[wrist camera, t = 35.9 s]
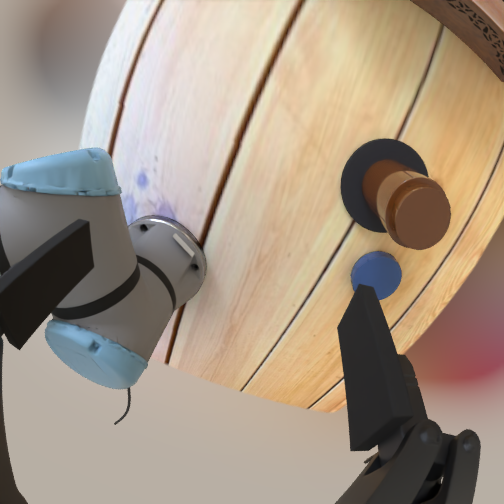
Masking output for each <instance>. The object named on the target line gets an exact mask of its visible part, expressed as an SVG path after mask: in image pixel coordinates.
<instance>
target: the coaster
mask: <svg viewBox="0 0 504 504" xmlns="http://www.w3.org/2000/svg"><path fill="white" fill-rule="evenodd" d="M385 159H392V160H396V161H398V162H400V163H402V164H404V165H406V166H408V167H410V168H412V169H414V170H416V171H417V172H419V173H421V174H423V175H425V176H426V177H428V173H427V169H426V167H425V164H424V162H423V160H422V159H421V157H420V156H419V155H418V154H417V152H416V151H415V150H413V149H412V148H411V147H410V146H408V145H407V144H405V143H402V142H400V141H397V140H393V139H377V140H373V141H370V142H368V143H366V144H364V145H362V146H361V147H360V148H358V149H357V150H356V151H355V152H354V153H353V154H352V155H351V157H350V158H349V160H348V161H347V163H346V165H345V167H344V170H343V173H342V178H341V194H342V199H343V202H344V205H345V207H346V209H347V211H348V213H349V214H350V216H351V217H352V218H353V219H354V220H355V221H356V222H357V223H358V224H359V225H361V226H362V227H364V228H366V229H368V230H371V231H374V232H382V233H386V232H387V231H386V229H385V228H384V226H383V225H382V224H381V222H380V221H379V220H378V218H377V217H376V215H375V214H374V213H373V211H372V210H371V209H370V207H369V206H368V205H367V203H366V202H365V200H364V198H363V194H362V181H363V178H364V175H365V173H366V172H367V170H368V169H369V168H370V167H371V166H372V165H373V164H374V163H376V162H378V161H381V160H385Z"/></svg>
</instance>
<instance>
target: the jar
mask: <svg viewBox="0 0 504 504" xmlns="http://www.w3.org/2000/svg"><path fill="white" fill-rule="evenodd" d="M362 194H363V198H364V200H365V202H366V203H367V205H368V206H369V207H370V209H371V210H372V211H373V213H374V214H375V215H376V217H377V218H378V220H379V221H380V222H381V224H382V225H383V226H384V228H385V229H386V231H387V232H388V233H389V235H390V236H391V238H392V239H393V240H394V241H395V242H396V243H398V244H399V245H401V246H404V247H407V248H412V249H416V250H423V249H427V248H430V247H432V246H434V245H435V244H436V243H438V242H439V241H440V240H441V239H442V237H443V236H444V235H445V233H446V231H447V229H448V227H449V223H450V217H451V211H450V208H451V207H450V204H449V202H448V199H447V197H446V195H445V192H444V191H443V189H442V188H441V187H440V185H439V184H437V183H436V182H435V181H433V180H432V179H430V178H428V177H426V176H425V175H423V174H421V173H419V172H417V171H416V170H414V169H412V168H410V167H408V166H406V165H404V164H402V163H400V162H398V161H396V160H392V159H385V160H381V161H378V162H376V163H374V164H373V165H372V166H371V167H370V168H369V169H368V170H367V172H366V173H365V175H364V178H363V181H362Z"/></svg>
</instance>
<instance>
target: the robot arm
mask: <svg viewBox="0 0 504 504" xmlns="http://www.w3.org/2000/svg"><path fill="white" fill-rule="evenodd" d="M0 181H1V184H3V185H1V186H0V504H28V503H27V502H26V500H25V498H24V497H23V496H22V495H21V493H20V492H19V491H18V489H17V487H16V484H15V480H14V476H13V472H12V467H11V463H10V458H9V453H8V447H7V441H6V433H5V426H4V415H3V400H2V355H3V340H2V338H1V336H2V335H3V334H5V336H6V337H7V339H8V341H9V343H10V344H12V345H13V346H14V347H16V348H17V349H19V350H20V349H21V348H22V346H23V345H24V344H25V343H26V342H27V340H28V339H29V338H30V337H31V335H32V334H33V333H34V332H35V331H36V329H37V328H38V327H39V326H40V325H41V323H42V322H43V321H44V320H45V319H46V318H47V317H48V315H49V314H50V313H52V316H53V319H52V320H51V321H49V322H48V323H47V328H46V329H45V338H46V341H47V343H48V345H49V346H50V348H51V349H52V350H53V352H54V353H55V354H56V355H57V356H58V357H59V358H60V359H61V360H62V361H63V362H64V363H65V364H66V365H68V366H69V367H70V368H71V369H73V370H74V371H76V372H77V373H78V374H80V375H82V376H83V377H85V378H87V379H89V380H91V381H93V382H95V383H97V384H99V385H102V386H105V387H109V388H112V389H128V406H127V410H126V412H125V414H124V415H123V416H122V417H121V418H120V419H119V420H118V421H116V422H115V423H114V424H115V425H116V424H117V423H118V422H120V421H121V420H122V419H123V418H124V417H125V416H126V414H127V413H128V411H129V407H130V401H131V395H130V387H131V386H133V385H134V384H135V383H136V382H137V380H138V379H139V377H140V376H141V374H142V373H143V371H144V369H146V368H147V366H148V361H149V359H150V357H151V355H152V353H153V351H154V349H155V347H156V345H157V343H158V341H159V339H160V337H161V335H162V333H163V331H164V329H165V328H166V326H167V324H168V322H169V320H170V318H171V316H172V314H173V312H174V311H175V310H176V309H178V308H179V307H180V306H182V305H183V304H184V303H186V302H187V301H188V300H190V299H191V298H192V297H193V296H194V295H195V294H196V293H197V292H198V291H199V289H200V287H201V285H202V283H203V281H204V278H205V275H206V259H205V255H204V252H203V250H202V248H201V246H200V244H199V242H198V241H197V239H196V238H195V237H194V236H193V234H192V233H191V232H190V231H189V230H188V229H186V228H185V227H184V226H182V225H181V224H180V223H178V222H176V221H174V220H172V219H169V218H166V217H162V216H145V217H142V218H140V219H138V220H136V221H134V222H133V223H132V224H130V225H129V226H127V222H126V218H125V214H124V210H123V206H122V201H121V197H120V194H121V193H122V191H121V188H120V187H119V186H118V183H117V179H116V175H115V171H114V167H113V163H112V159H111V157H110V155H109V154H108V153H107V152H106V151H105V150H103V149H100V148H88V149H81V150H76V151H70V152H65V153H60V154H55V155H50V156H46V157H41V158H37V159H33V160H30V161H26V162H22V163H19V164H15V165H12V166H9V167H5V168H4V169H3V170H2V173H1V179H0ZM337 329H338V336H339V343H340V350H341V357H342V364H343V372H344V381H345V390H346V399H347V409H348V421H349V435H350V449H351V451H369V450H370V449H372V448H373V447H375V446H376V445H378V451H379V452H377V453H376V454H374V455H373V456H371V457H370V458H368V459H367V460H366V461H364V463H368V462H369V461H370V462H369V463H368V465H367V466H366V467H365V469H364V470H363V471H362V472H361V474H360V475H359V476H358V477H357V479H356V480H355V481H354V482H353V483H352V485H351V486H350V487H349V488H348V490H347V491H346V492H345V493H344V494H343V495H342V496H341V497H340V498H339V500H338V501H337V502H336V503H335V504H472V502H473V497H474V492H475V487H476V481H477V475H478V468H479V459H480V448H481V446H480V440H479V437H478V436H477V434H476V433H475V432H474V431H472V430H468V429H466V430H464V431H462V432H461V433H460V434H458V435H457V436H454V435H449V434H445V433H442V431H441V429H440V427H439V426H438V424H436V422H434V421H432V420H430V419H428V418H427V414H426V410H425V406H424V403H423V399H422V396H421V392H420V389H419V387H418V382H417V379H416V378H415V372H414V370H413V366H412V364H411V363H410V361H409V360H408V358H407V357H406V356H405V355H400V354H397V351H396V348H395V345H394V342H393V339H392V336H391V333H390V330H389V327H388V324H387V321H386V319H385V316H384V313H383V310H382V308H381V305H380V302H379V300H378V297H377V294H376V292H375V289H374V287H372V286H367V285H363V284H359V285H358V287H357V289H356V291H355V293H354V295H353V297H352V299H351V301H350V303H349V305H348V307H347V309H346V311H345V313H344V315H343V317H342V319H341V321H340V323H339V325H338V327H337ZM442 477H443V481H442V484H441V479H442Z"/></svg>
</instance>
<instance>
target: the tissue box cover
mask: <svg viewBox="0 0 504 504" xmlns="http://www.w3.org/2000/svg"><path fill="white" fill-rule="evenodd" d="M410 1H412V2H413V3H415V4H416V5H418V6H419V7H421V8H422V9H424V10H425V11H426V12H428V13H429V14H431V15H432V16H433V17H435V18H436V19H437V20H438V21H440V22H441V23H442V24H443V25H445V26H446V27H447V28H448V29H450V30H451V31H452V32H453V33H454V34H455V35H457V36H458V37H459V38H460V39H461V40H462V41H463V42H464V43H466V44H467V45H468V46H469V47H470V48H471V49H472V50H473V51H474V52H475V53H476V54H477V55H478V56H479V57H480V58H481V59H482V60H483V61H484V62H485V63H486V64H487V65H488V66H489V67H490V69H491V70H492V71H493V72H494V73H495V74H496V75H497V76H498V78H499V79H500V80H501V81H502V82H504V0H410Z"/></svg>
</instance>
